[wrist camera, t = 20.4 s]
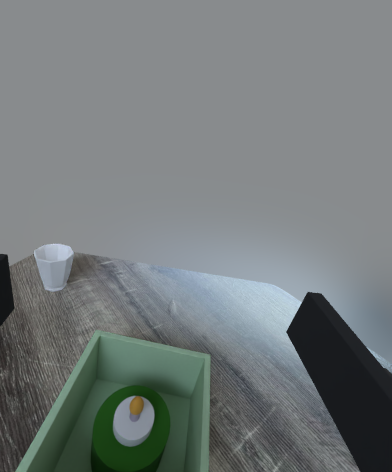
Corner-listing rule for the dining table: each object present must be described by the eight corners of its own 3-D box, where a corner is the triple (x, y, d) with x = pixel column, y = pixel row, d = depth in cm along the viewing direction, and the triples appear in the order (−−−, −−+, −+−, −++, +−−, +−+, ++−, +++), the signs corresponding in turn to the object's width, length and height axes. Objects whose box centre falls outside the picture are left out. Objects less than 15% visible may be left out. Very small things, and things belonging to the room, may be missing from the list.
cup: (30, 296, 47) (27, 261, 43) (43, 266, 55) (42, 235, 52) (71, 296, 49) (71, 262, 46) (78, 267, 58) (78, 237, 54)
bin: (16, 536, 22) (4, 491, 18) (93, 376, 36) (96, 329, 32) (182, 568, 23) (207, 530, 19) (194, 397, 37) (210, 354, 33)
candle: (176, 451, 30) (194, 404, 26) (115, 520, 24) (125, 474, 20) (137, 397, 34) (146, 349, 30) (77, 444, 28) (78, 392, 24)
